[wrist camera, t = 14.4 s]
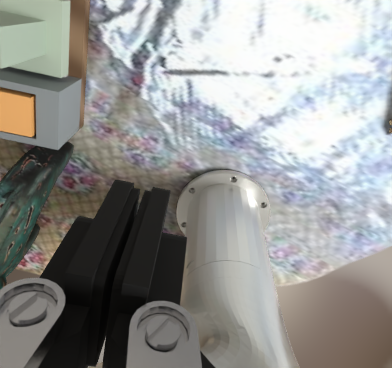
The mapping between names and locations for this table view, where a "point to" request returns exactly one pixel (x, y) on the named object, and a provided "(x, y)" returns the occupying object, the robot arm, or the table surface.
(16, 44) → the carriage
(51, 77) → the grey block
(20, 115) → the button
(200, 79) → the table surface
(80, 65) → the track
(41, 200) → the green animal statue
